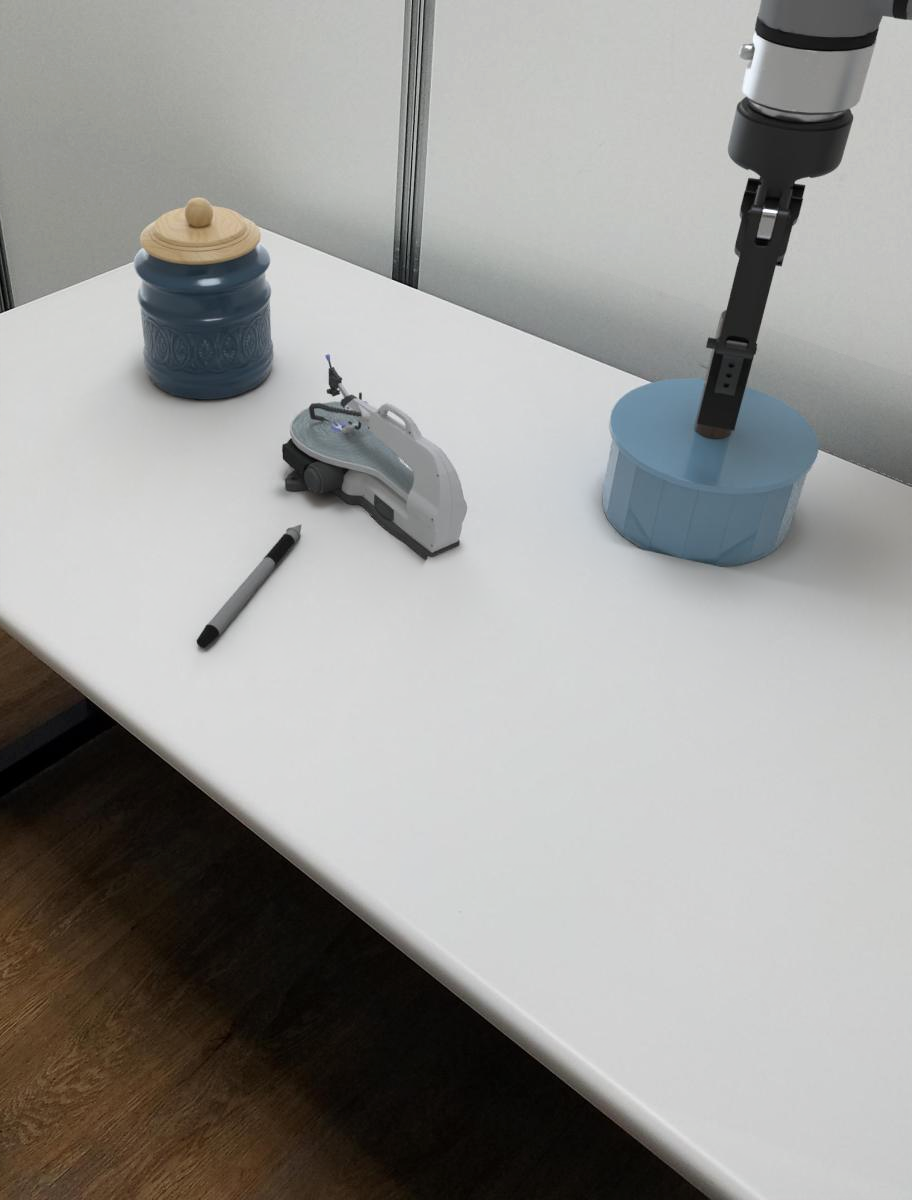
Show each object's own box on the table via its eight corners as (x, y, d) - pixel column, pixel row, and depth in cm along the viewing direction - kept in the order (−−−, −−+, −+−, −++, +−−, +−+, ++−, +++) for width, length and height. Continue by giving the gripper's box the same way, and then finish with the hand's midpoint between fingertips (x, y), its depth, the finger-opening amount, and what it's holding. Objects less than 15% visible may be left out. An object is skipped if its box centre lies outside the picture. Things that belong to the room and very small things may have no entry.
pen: (194, 647, 89) (193, 635, 88) (294, 527, 100) (294, 515, 99) (209, 653, 88) (208, 640, 87) (308, 531, 99) (308, 519, 99)
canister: (155, 337, 125) (138, 171, 114) (277, 339, 125) (273, 172, 113) (136, 401, 115) (115, 227, 104) (269, 404, 115) (263, 229, 103)
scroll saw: (514, 426, 92) (395, 473, 87) (501, 533, 99) (390, 582, 94) (365, 324, 105) (255, 361, 100) (363, 426, 112) (259, 465, 107)
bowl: (794, 479, 105) (817, 406, 100) (779, 585, 94) (804, 509, 89) (619, 445, 109) (633, 373, 104) (585, 542, 98) (599, 467, 93)
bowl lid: (820, 411, 100) (860, 288, 93) (807, 519, 89) (851, 389, 82) (626, 376, 105) (649, 256, 98) (590, 475, 93) (612, 348, 86)
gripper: (757, 45, 89) (699, 304, 103) (716, 160, 72) (653, 454, 85) (862, 55, 87) (789, 318, 101) (847, 176, 69) (760, 475, 83)
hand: (726, 381), depth 93 cm, fingers open, 13 cm apart
